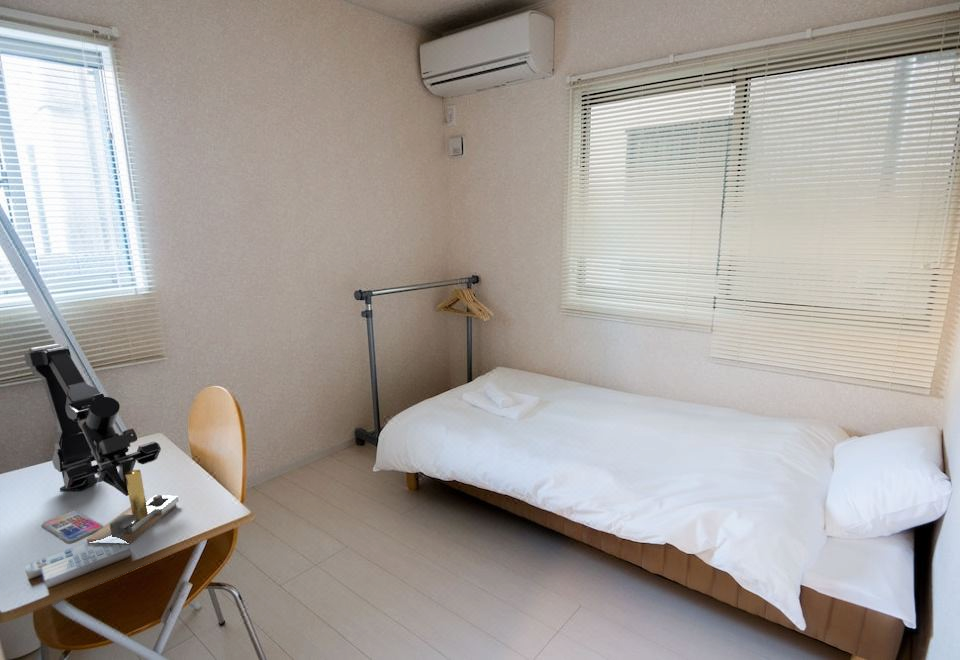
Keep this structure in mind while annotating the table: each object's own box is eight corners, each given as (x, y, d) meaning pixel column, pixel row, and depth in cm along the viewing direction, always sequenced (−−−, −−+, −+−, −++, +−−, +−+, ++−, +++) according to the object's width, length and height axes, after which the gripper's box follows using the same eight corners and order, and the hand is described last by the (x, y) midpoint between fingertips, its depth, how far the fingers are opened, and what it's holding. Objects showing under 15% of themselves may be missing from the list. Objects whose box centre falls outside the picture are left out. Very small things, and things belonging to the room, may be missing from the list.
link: (156, 500, 131) (148, 454, 129) (178, 501, 131) (171, 455, 128) (114, 532, 118) (105, 482, 116) (139, 533, 118) (130, 482, 115)
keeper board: (87, 543, 117) (83, 525, 116) (138, 504, 132) (136, 489, 131) (129, 544, 116) (126, 527, 115) (176, 505, 131) (173, 489, 130)
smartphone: (75, 509, 130) (105, 525, 122) (76, 512, 130) (106, 529, 123) (39, 523, 124) (68, 541, 116) (40, 527, 124) (69, 545, 116)
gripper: (58, 434, 113) (84, 496, 109) (152, 409, 128) (178, 463, 123) (53, 459, 119) (78, 518, 115) (143, 433, 134) (168, 484, 130)
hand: (128, 494), depth 121 cm, fingers closed
